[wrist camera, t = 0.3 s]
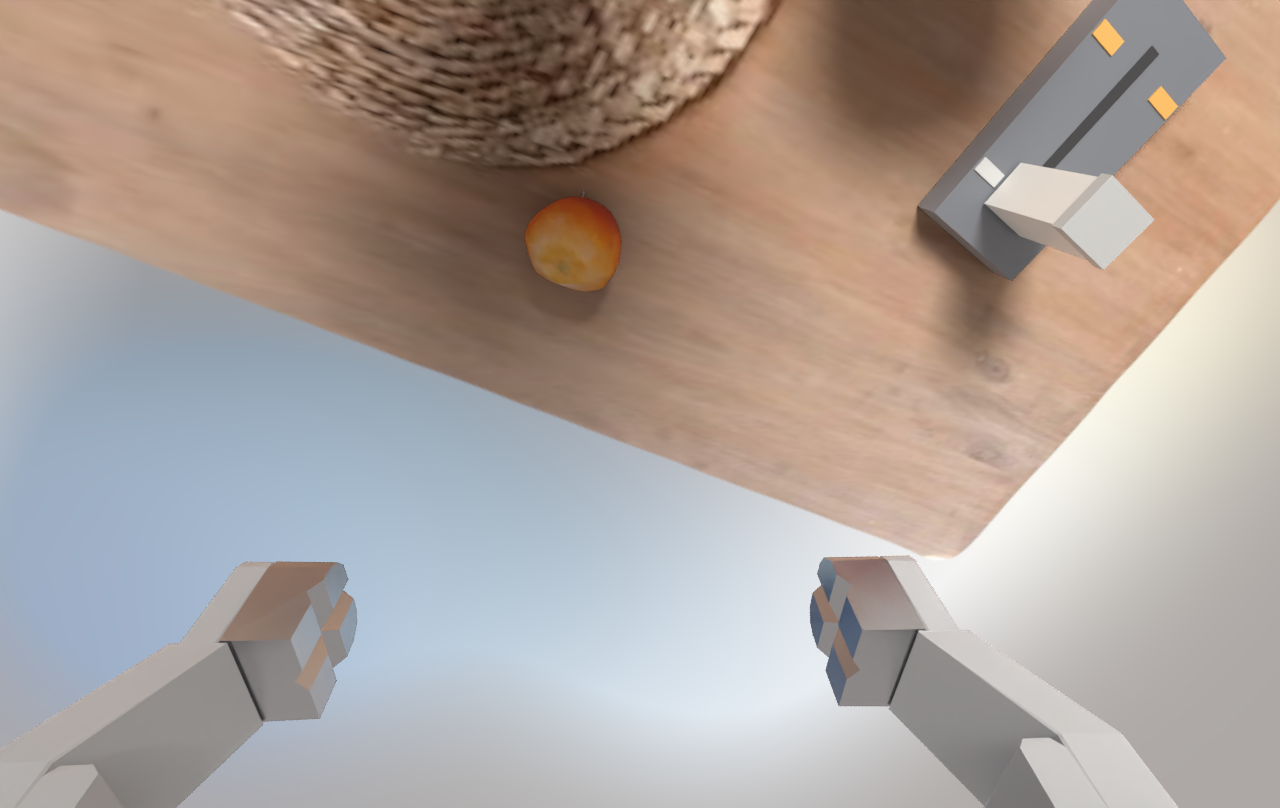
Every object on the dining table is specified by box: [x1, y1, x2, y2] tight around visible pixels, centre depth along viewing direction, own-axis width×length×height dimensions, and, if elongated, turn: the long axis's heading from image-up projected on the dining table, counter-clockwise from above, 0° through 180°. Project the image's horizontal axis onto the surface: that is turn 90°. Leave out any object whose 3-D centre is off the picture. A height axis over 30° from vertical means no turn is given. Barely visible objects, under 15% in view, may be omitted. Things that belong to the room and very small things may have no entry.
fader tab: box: [984, 163, 1154, 270], centre depth 48 cm, size 4×5×10 cm
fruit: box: [525, 191, 621, 292], centre depth 51 cm, size 8×8×8 cm
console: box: [918, 0, 1226, 281], centre depth 52 cm, size 22×11×3 cm, turn 145°
